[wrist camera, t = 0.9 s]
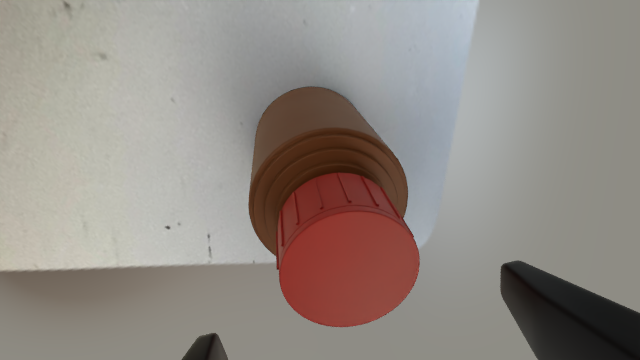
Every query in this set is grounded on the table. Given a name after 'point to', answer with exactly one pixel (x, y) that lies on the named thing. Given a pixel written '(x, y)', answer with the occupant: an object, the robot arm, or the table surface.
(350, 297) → the cap
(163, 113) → the table surface
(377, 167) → the bottle
